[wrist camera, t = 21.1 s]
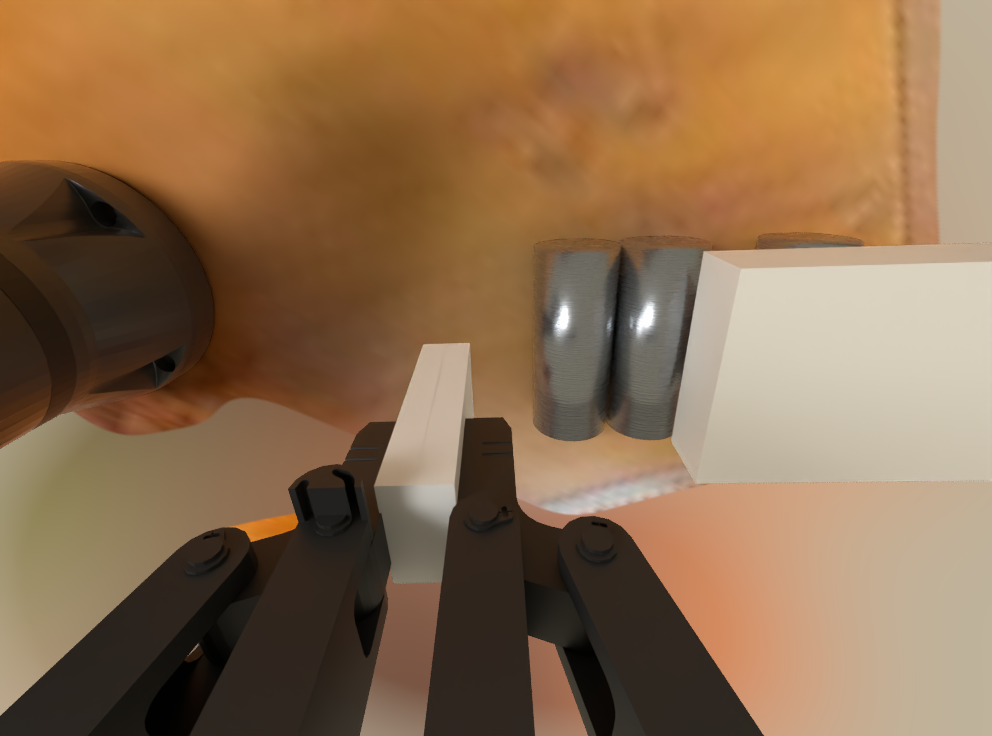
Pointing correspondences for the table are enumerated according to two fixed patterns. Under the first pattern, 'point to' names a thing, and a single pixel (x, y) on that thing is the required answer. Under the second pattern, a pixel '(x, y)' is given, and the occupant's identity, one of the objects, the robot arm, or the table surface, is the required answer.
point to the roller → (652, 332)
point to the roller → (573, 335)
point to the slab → (839, 366)
